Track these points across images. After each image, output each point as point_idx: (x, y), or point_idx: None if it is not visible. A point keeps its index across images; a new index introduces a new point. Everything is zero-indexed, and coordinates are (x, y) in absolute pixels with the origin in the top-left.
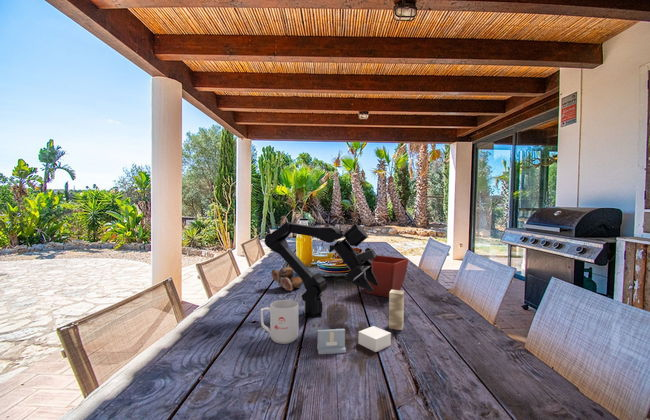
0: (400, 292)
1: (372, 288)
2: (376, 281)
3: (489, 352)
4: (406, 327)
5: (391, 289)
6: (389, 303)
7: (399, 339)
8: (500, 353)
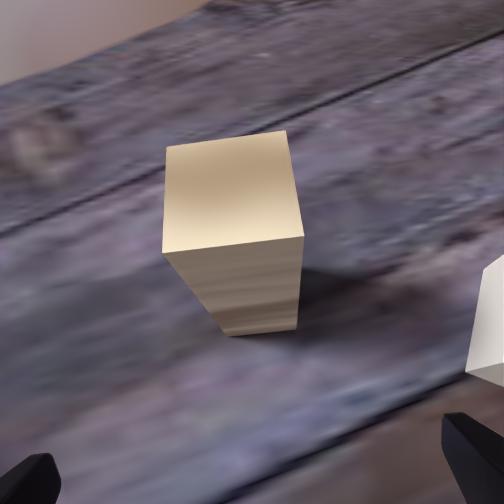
0: (237, 155)
1: (466, 431)
2: (11, 494)
3: (315, 33)
4: None
5: (163, 250)
6: (299, 277)
7: (396, 252)
8: (306, 18)
